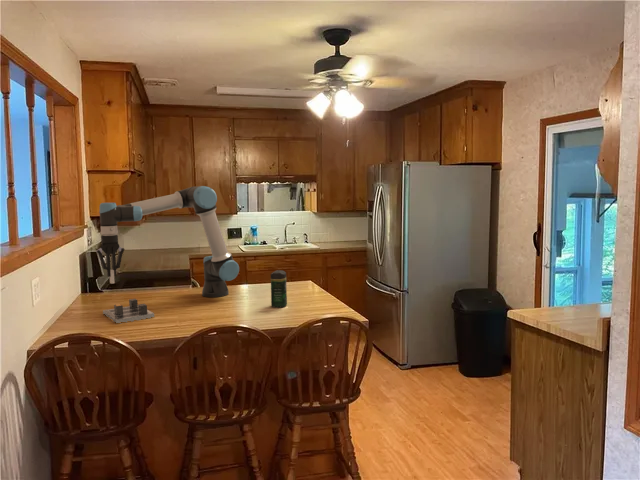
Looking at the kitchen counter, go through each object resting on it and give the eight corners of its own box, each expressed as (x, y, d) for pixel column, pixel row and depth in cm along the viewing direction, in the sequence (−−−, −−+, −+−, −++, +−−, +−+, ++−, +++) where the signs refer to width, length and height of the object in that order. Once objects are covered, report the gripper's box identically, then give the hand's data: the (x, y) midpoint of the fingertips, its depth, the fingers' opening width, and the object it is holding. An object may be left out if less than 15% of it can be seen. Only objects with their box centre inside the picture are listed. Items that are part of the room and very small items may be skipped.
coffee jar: (285, 308, 262) (284, 272, 259) (270, 308, 262) (268, 272, 260) (288, 303, 271) (287, 269, 269) (273, 303, 272) (272, 269, 270)
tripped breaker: (114, 312, 252) (114, 304, 251) (120, 311, 254) (120, 303, 253) (116, 314, 249) (116, 306, 248) (123, 313, 250) (122, 305, 250)
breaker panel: (103, 314, 258) (102, 302, 258) (139, 308, 269) (138, 297, 268) (116, 324, 239) (115, 311, 238) (154, 317, 250) (153, 305, 249)
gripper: (97, 236, 239) (100, 285, 241) (125, 234, 247) (128, 282, 249) (93, 235, 245) (96, 283, 247) (121, 233, 253) (123, 280, 255)
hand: (112, 283), depth 248 cm, fingers closed
